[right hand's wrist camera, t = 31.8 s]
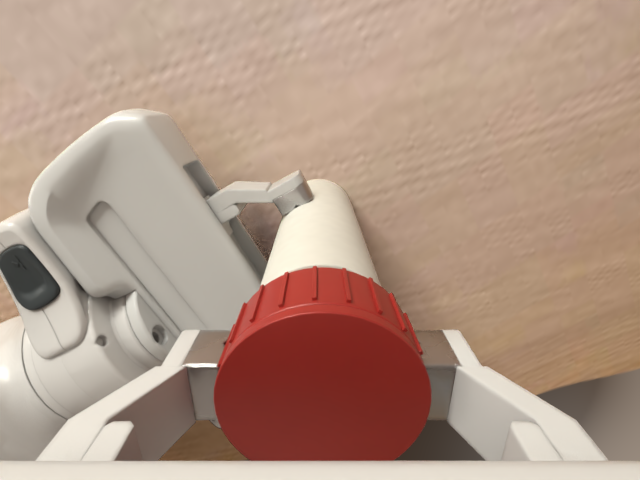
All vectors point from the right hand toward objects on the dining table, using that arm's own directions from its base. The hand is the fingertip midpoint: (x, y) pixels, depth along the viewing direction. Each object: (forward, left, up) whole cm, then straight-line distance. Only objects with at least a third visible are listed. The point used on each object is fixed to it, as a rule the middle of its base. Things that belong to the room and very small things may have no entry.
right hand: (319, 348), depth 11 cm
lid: (0, 0, +2) cm, 2 cm away
